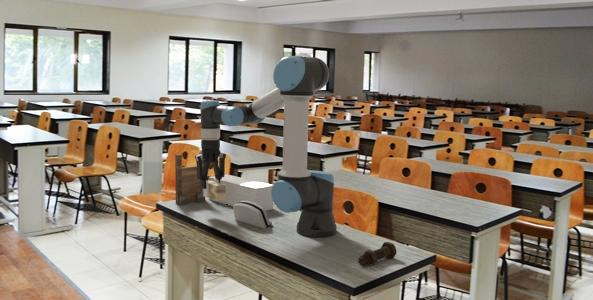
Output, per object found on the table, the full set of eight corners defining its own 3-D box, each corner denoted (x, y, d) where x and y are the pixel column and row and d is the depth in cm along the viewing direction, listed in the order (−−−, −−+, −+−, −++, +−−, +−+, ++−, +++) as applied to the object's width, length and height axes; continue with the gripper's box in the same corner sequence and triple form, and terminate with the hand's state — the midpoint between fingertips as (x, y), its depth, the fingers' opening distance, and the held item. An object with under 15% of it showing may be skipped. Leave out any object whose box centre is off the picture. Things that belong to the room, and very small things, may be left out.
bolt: (358, 272, 170) (387, 260, 180) (370, 268, 166) (399, 256, 177) (352, 254, 171) (381, 243, 181) (363, 250, 168) (392, 239, 178)
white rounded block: (273, 225, 212) (267, 203, 208) (265, 232, 209) (259, 209, 205) (244, 217, 223) (238, 196, 219) (235, 223, 220) (229, 201, 216)
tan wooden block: (225, 199, 218) (225, 184, 217) (217, 200, 215) (217, 185, 214) (210, 194, 227) (210, 180, 226) (201, 195, 224) (201, 181, 223)
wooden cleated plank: (207, 200, 248) (207, 153, 245) (179, 205, 240) (179, 155, 236) (203, 199, 251) (203, 152, 248) (175, 203, 242) (175, 154, 239)
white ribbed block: (208, 199, 252) (208, 177, 250) (226, 196, 260) (226, 174, 258) (255, 213, 230) (255, 188, 229) (273, 209, 238) (273, 185, 236)
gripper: (223, 136, 228) (224, 191, 231) (187, 139, 217) (188, 196, 220) (233, 138, 222) (233, 194, 225) (196, 141, 211) (197, 200, 214)
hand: (211, 195), depth 222 cm, fingers closed on tan wooden block, 4 cm apart
